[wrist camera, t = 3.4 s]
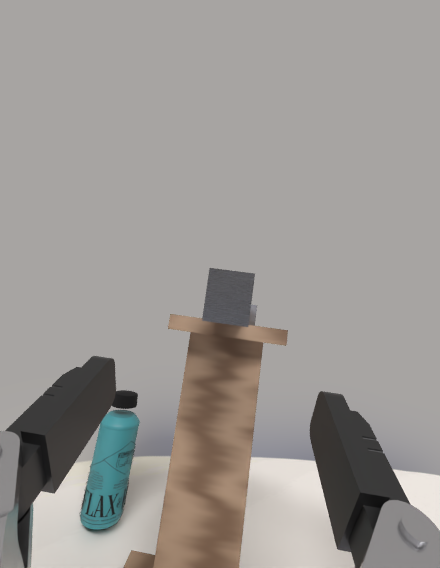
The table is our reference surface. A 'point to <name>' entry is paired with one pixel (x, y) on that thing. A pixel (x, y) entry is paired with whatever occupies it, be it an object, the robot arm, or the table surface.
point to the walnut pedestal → (211, 446)
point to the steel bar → (228, 297)
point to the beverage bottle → (111, 465)
